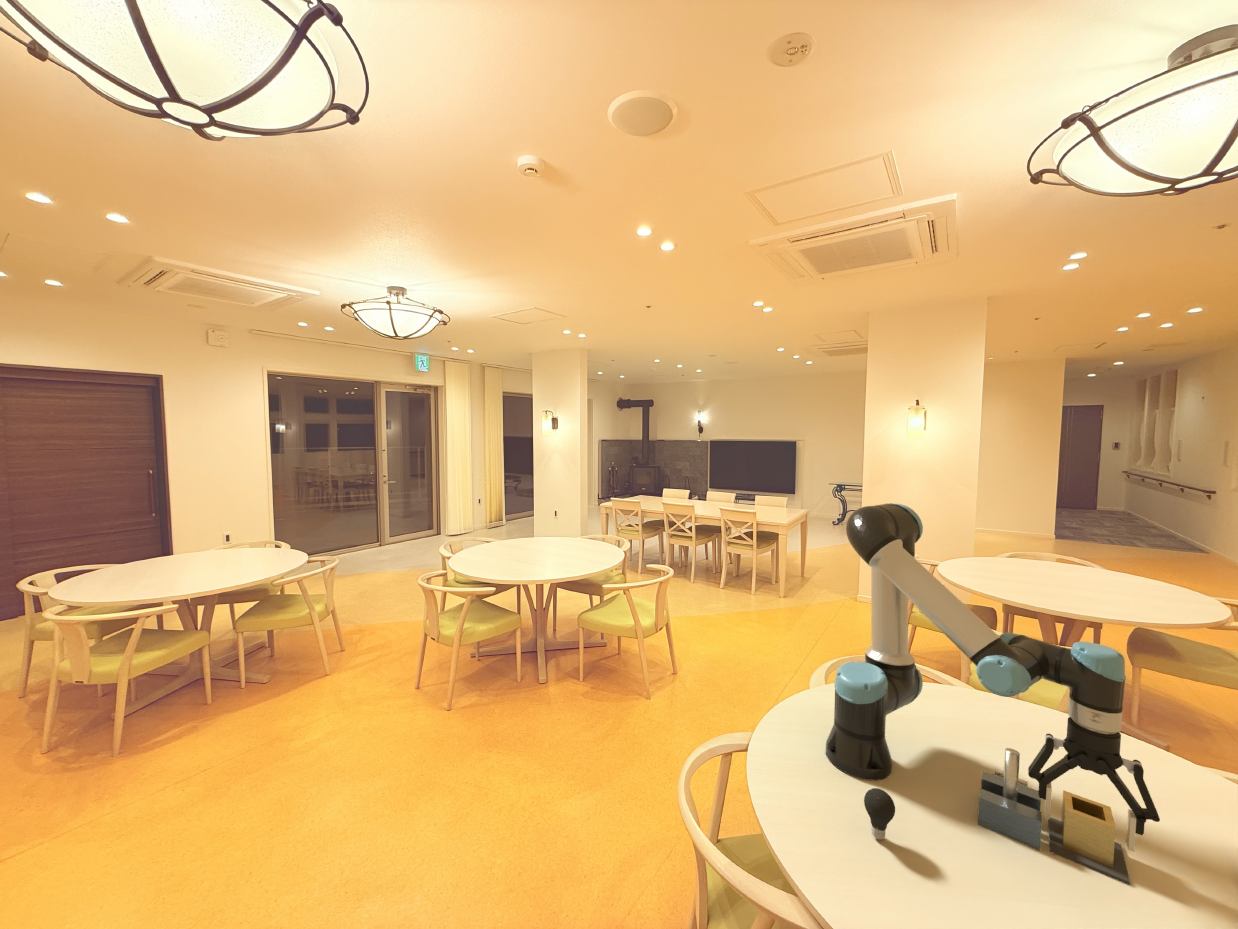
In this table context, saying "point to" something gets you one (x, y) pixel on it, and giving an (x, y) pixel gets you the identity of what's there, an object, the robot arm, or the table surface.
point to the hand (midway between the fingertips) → (1086, 830)
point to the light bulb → (879, 811)
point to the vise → (1010, 804)
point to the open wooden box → (1088, 828)
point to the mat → (1057, 848)
